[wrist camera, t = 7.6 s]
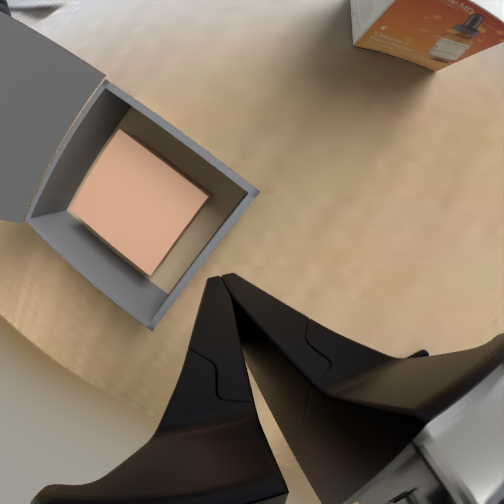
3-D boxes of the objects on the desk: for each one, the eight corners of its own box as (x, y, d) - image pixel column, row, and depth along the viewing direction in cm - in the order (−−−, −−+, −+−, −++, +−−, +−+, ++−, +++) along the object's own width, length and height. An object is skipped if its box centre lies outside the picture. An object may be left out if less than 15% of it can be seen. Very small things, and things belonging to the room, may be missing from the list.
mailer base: (256, 189, 20) (260, 191, 15) (170, 299, 21) (152, 331, 17) (134, 98, 18) (105, 79, 13) (63, 210, 20) (24, 219, 15)
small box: (350, 46, 17) (415, -27, 7) (347, -6, 16) (396, -82, 6) (437, 73, 18) (523, 37, 7) (430, 22, 16) (500, -25, 6)
